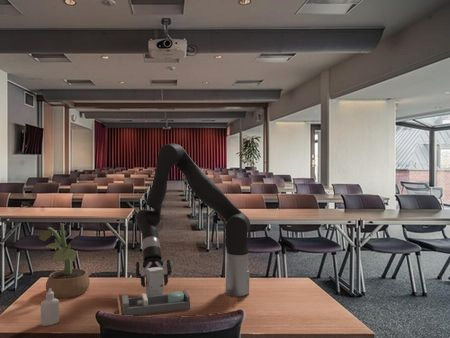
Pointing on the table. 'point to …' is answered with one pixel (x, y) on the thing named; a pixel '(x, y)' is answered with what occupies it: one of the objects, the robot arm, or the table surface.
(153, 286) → the skincare box
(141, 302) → the spring paddle
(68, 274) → the potted plant
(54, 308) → the eye dropper bottle
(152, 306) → the pusher lane
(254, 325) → the table surface
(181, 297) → the teal jar
